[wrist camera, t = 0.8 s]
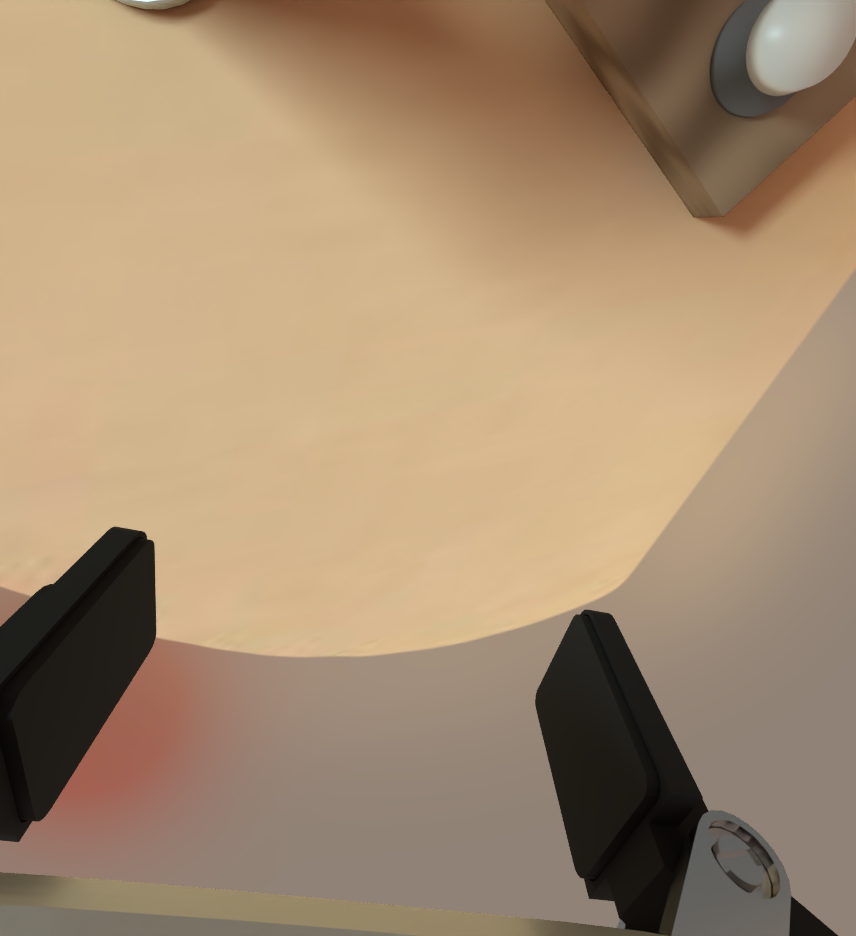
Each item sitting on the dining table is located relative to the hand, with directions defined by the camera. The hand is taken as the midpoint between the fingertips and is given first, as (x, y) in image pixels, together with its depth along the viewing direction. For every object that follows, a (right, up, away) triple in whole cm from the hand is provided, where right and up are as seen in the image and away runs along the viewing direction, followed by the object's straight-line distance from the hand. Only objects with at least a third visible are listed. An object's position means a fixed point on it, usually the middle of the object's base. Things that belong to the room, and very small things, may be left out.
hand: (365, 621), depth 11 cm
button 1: (+21, +27, +16) cm, 38 cm away
